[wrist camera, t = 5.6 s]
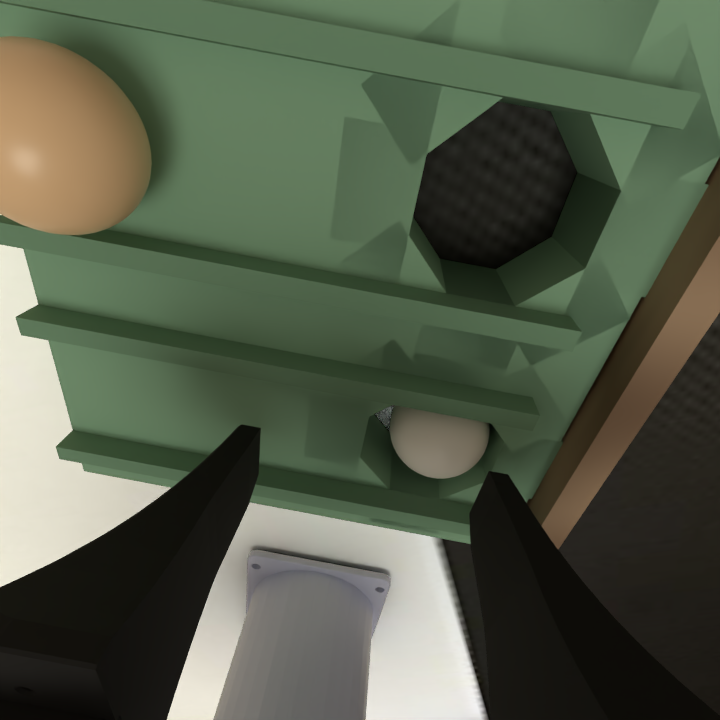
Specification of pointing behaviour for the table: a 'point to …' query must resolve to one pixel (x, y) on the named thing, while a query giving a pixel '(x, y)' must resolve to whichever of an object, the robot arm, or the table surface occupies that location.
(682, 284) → the backstop
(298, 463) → the green egg tray
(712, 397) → the table surface
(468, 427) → the ball white
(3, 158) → the ball orange
